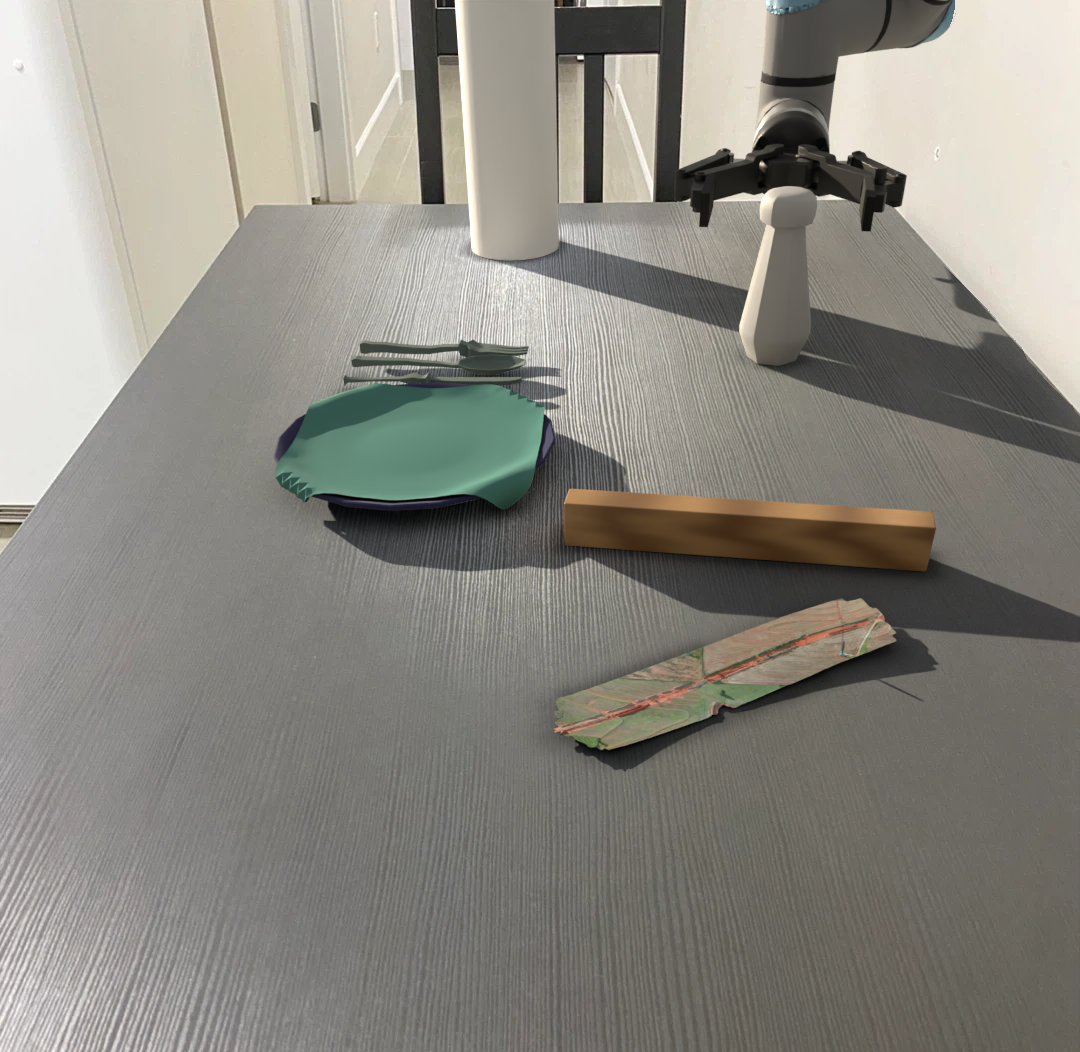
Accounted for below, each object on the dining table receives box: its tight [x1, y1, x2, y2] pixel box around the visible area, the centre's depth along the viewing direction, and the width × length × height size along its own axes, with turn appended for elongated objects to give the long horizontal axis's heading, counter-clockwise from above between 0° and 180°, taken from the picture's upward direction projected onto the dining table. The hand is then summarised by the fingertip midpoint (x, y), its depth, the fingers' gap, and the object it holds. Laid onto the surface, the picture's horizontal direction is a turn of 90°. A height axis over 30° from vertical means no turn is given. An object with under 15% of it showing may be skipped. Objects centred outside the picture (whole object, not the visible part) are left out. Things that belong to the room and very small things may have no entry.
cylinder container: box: [454, 0, 560, 261], centre depth 108 cm, size 9×9×30 cm
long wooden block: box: [563, 488, 937, 572], centre depth 67 cm, size 22×2×3 cm, turn 79°
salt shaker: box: [738, 186, 818, 367], centre depth 88 cm, size 6×6×13 cm
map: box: [552, 597, 898, 751], centre depth 58 cm, size 5×20×1 cm, turn 117°
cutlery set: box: [273, 339, 556, 512], centre depth 81 cm, size 20×30×2 cm, turn 176°
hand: (785, 212), depth 92 cm, fingers open, 13 cm apart
